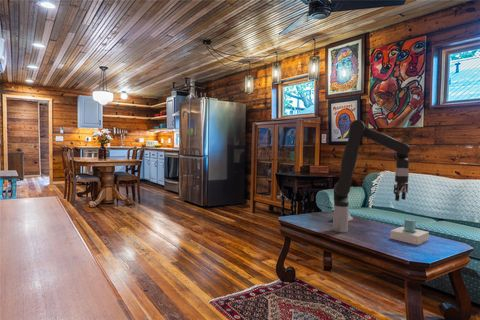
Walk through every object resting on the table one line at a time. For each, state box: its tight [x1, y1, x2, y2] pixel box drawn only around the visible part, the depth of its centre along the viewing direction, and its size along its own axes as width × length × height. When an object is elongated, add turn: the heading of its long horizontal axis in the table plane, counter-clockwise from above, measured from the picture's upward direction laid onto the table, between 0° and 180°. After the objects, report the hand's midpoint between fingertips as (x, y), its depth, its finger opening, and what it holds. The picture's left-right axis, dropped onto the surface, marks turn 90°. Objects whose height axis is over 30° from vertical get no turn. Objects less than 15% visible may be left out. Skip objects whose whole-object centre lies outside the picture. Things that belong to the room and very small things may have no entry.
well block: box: [390, 226, 430, 246], centre depth 194 cm, size 16×16×5 cm
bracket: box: [403, 218, 417, 233], centre depth 194 cm, size 4×5×11 cm
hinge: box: [348, 209, 354, 222], centre depth 241 cm, size 17×5×10 cm, turn 129°
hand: (400, 200), depth 200 cm, fingers open, 8 cm apart
